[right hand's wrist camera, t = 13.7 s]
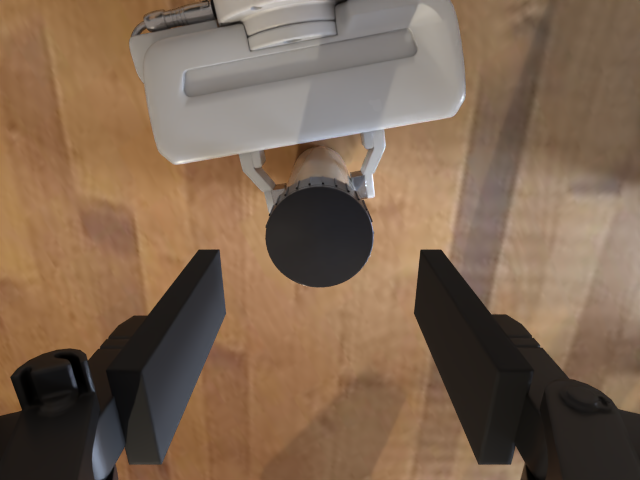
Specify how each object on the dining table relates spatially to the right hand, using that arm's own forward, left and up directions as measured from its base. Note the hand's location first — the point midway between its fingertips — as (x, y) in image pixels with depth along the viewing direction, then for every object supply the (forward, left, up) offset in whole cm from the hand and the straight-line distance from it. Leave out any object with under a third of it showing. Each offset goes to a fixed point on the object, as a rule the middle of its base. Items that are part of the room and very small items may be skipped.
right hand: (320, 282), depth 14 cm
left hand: (0, +1, -14) cm, 14 cm away
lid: (0, 0, -5) cm, 5 cm away
